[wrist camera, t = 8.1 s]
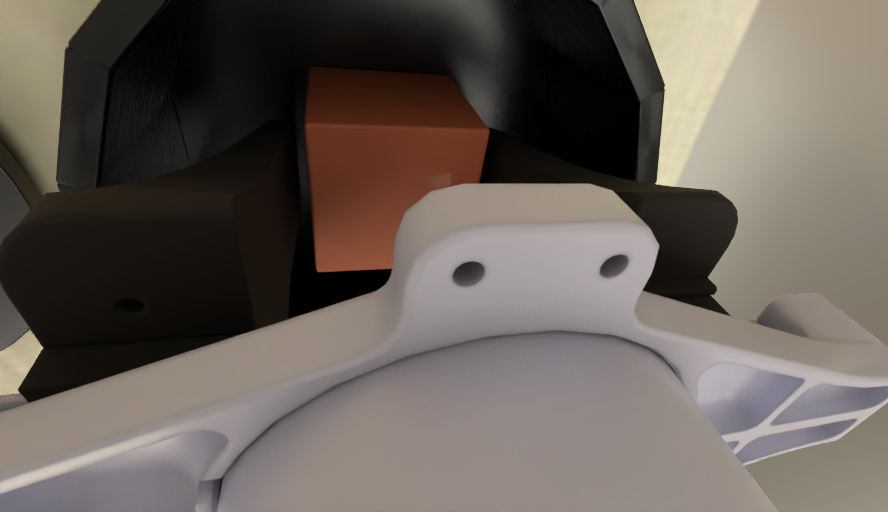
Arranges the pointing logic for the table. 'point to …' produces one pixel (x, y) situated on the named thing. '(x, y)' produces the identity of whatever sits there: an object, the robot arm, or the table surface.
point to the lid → (3, 206)
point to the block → (381, 157)
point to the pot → (349, 47)
